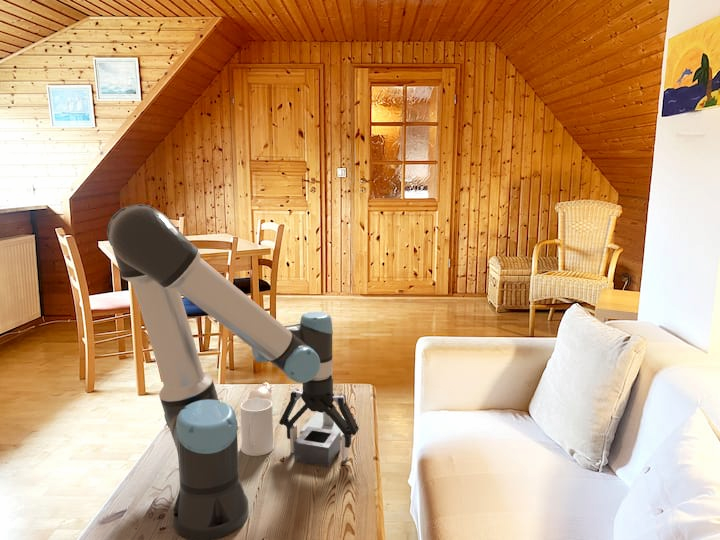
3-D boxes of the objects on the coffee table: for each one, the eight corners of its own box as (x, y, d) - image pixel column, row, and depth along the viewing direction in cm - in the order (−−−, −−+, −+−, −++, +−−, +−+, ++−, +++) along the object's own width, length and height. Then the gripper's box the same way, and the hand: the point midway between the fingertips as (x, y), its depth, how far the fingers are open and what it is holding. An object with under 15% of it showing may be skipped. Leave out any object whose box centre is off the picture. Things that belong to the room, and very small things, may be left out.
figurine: (268, 371, 173) (262, 380, 158) (284, 387, 174) (280, 398, 159) (244, 395, 173) (236, 406, 158) (261, 411, 173) (254, 424, 158)
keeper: (341, 438, 147) (341, 417, 145) (300, 432, 150) (300, 411, 149) (355, 419, 158) (355, 399, 157) (316, 414, 161) (316, 394, 160)
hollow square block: (328, 466, 132) (328, 447, 132) (294, 461, 135) (294, 442, 134) (340, 449, 141) (340, 431, 140) (308, 444, 143) (307, 426, 143)
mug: (263, 464, 134) (261, 418, 131) (230, 461, 135) (228, 415, 133) (278, 441, 145) (277, 399, 143) (248, 438, 146) (246, 396, 144)
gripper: (370, 374, 134) (370, 454, 138) (277, 364, 141) (280, 440, 145) (361, 386, 127) (362, 469, 131) (264, 375, 134) (267, 454, 138)
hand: (319, 454), depth 138 cm, fingers open, 13 cm apart
